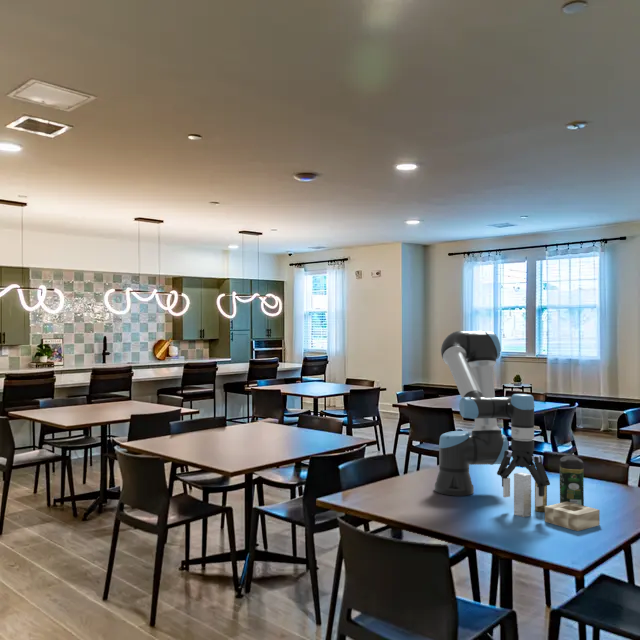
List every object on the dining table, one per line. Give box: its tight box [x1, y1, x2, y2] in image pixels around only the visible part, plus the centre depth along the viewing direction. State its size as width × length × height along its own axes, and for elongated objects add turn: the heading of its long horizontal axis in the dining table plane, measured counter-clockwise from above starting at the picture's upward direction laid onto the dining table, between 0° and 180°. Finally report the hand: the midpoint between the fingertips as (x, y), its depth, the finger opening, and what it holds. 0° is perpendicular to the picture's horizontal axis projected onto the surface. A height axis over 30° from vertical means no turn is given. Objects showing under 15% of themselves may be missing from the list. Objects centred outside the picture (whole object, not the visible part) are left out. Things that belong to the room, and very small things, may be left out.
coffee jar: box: [559, 455, 585, 506], centre depth 221 cm, size 10×8×19 cm
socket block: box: [544, 502, 601, 532], centre depth 203 cm, size 12×12×5 cm
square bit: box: [513, 472, 532, 518], centre depth 212 cm, size 4×4×14 cm
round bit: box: [534, 481, 548, 513], centre depth 218 cm, size 4×4×10 cm
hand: (522, 501), depth 212 cm, fingers open, 13 cm apart
